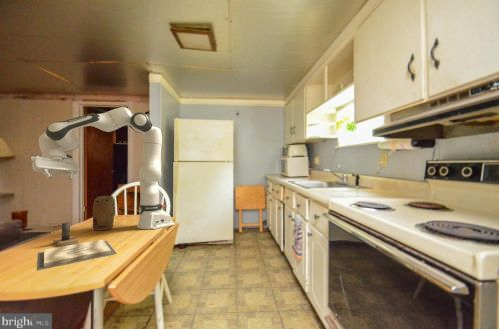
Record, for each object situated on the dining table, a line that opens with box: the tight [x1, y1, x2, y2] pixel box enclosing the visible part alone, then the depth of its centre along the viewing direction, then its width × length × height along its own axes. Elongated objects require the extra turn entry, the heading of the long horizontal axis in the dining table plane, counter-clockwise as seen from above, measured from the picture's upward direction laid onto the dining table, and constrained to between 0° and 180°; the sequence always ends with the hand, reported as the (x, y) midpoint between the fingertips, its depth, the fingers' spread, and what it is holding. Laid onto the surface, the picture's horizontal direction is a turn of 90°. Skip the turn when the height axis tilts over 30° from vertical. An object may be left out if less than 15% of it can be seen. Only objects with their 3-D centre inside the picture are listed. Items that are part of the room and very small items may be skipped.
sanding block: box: [52, 222, 79, 247], centre depth 117 cm, size 10×7×10 cm
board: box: [43, 239, 111, 267], centre depth 104 cm, size 22×19×2 cm
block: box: [92, 195, 115, 231], centre depth 145 cm, size 11×8×20 cm
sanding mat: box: [36, 240, 118, 271], centre depth 104 cm, size 26×23×1 cm
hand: (60, 178), depth 124 cm, fingers open, 8 cm apart
